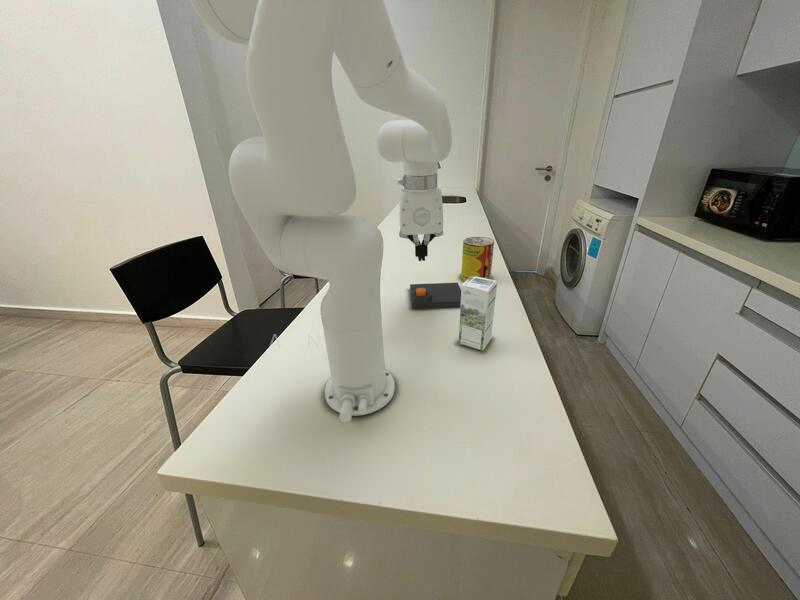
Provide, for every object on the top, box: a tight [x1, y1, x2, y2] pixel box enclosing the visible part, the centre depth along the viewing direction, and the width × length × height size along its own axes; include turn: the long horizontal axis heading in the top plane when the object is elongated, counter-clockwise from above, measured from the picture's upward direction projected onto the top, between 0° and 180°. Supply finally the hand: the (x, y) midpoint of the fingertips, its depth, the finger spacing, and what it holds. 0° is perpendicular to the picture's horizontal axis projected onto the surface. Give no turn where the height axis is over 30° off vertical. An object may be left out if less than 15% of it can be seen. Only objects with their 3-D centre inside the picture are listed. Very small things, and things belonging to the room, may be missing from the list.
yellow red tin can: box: [460, 236, 495, 282], centre depth 101 cm, size 9×9×12 cm
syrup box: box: [458, 276, 498, 352], centre depth 69 cm, size 6×6×14 cm
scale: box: [409, 282, 461, 310], centre depth 91 cm, size 13×14×4 cm
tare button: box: [416, 288, 426, 297], centre depth 87 cm, size 3×3×2 cm
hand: (421, 258), depth 83 cm, fingers closed
